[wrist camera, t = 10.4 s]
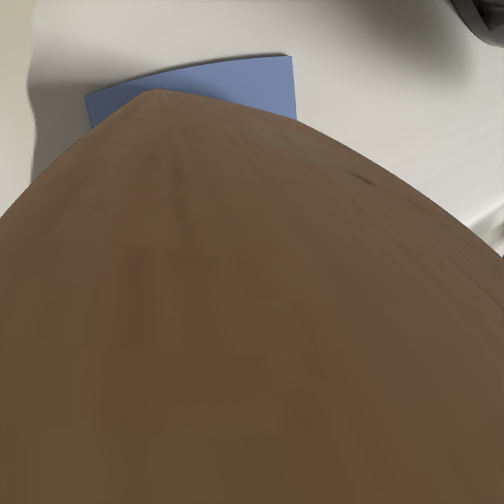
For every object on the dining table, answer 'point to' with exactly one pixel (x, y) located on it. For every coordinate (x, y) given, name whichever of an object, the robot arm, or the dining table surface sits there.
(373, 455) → the wooden block
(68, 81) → the dining table surface
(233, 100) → the blue square plate
